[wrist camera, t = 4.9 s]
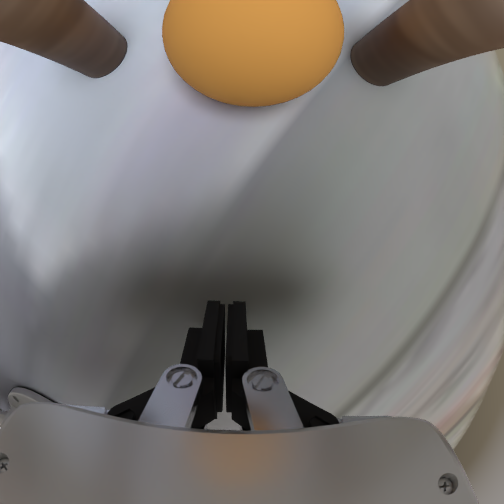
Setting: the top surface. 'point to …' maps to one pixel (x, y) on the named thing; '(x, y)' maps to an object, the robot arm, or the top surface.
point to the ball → (253, 47)
